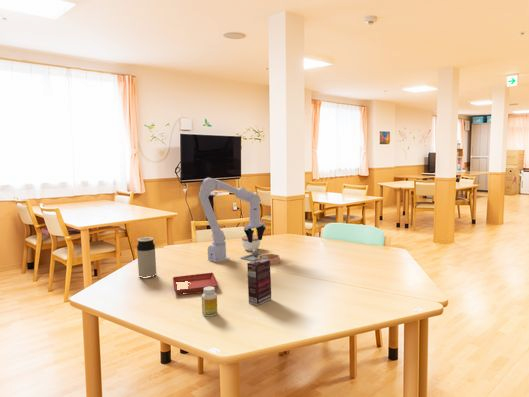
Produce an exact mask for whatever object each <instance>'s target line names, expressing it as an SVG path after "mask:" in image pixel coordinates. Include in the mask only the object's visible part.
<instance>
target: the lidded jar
mask: <svg viewBox="0 0 529 397" xmlns="http://www.w3.org/2000/svg"><path fill="white" fill-rule="evenodd" d="M241 241H242V242H241V244H242V247H243V249H244V250H246V251H247V252H248V251H249V252H253V250H258V249H259V248H260V246H261V240H258V235H254V234H253V240H252V243H250V242H248V238H247V235H244V236H242V237H241Z"/></svg>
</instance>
